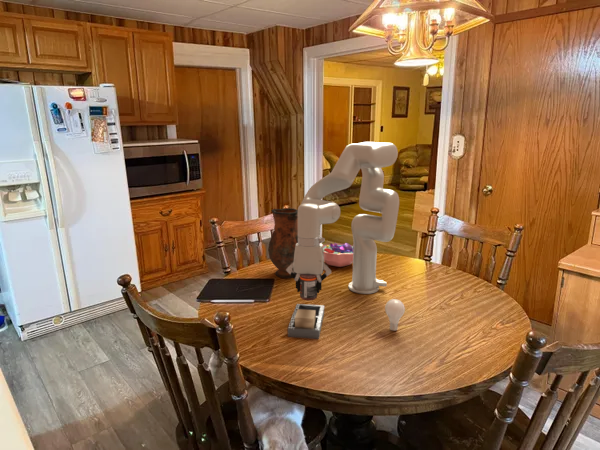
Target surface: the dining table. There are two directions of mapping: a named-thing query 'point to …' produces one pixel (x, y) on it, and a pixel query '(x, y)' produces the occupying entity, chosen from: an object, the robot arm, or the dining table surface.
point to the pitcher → (283, 240)
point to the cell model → (338, 254)
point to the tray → (307, 332)
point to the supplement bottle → (308, 287)
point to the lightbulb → (394, 312)
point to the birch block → (305, 318)
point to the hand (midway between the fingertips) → (308, 290)
